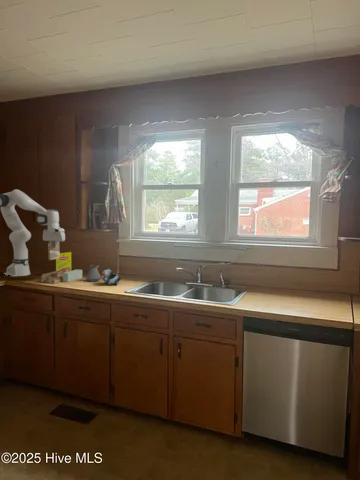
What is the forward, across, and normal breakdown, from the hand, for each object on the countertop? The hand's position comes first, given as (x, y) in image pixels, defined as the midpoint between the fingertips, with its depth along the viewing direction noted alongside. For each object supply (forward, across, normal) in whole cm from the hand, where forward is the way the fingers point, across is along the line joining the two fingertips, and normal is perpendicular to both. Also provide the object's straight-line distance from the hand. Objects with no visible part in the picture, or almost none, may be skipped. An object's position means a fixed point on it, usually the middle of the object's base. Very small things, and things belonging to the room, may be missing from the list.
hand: (54, 246), depth 281 cm
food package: (+28, -7, +19) cm, 34 cm away
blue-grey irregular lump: (+28, +48, +8) cm, 57 cm away
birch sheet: (+10, 0, 0) cm, 10 cm away
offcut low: (+28, +4, -1) cm, 28 cm away
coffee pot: (+28, +29, +17) cm, 44 cm away
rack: (+28, +2, -1) cm, 28 cm away
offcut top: (+24, +4, -1) cm, 24 cm away
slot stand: (+28, +12, +8) cm, 31 cm away
